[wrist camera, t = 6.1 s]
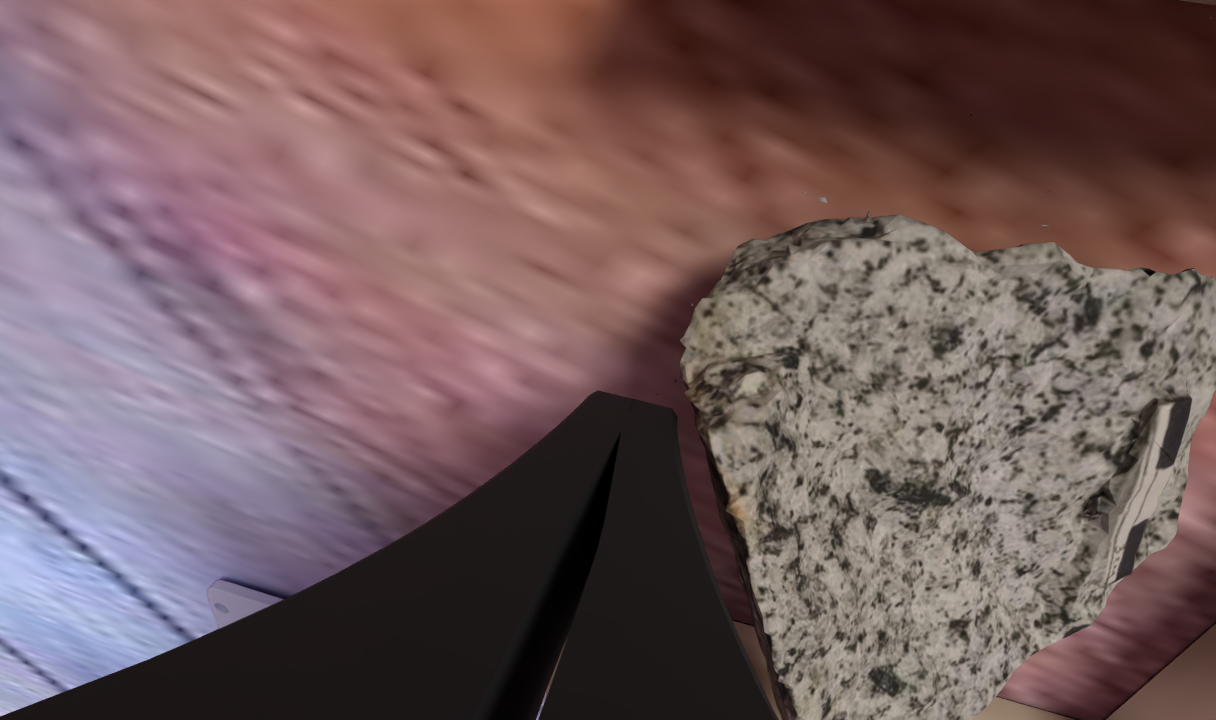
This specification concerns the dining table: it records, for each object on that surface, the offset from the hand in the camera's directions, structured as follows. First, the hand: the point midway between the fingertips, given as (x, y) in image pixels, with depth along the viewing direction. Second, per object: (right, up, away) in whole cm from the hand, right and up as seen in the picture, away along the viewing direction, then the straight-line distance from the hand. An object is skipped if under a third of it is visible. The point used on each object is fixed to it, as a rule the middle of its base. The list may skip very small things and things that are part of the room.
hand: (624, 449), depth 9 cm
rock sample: (+5, +1, +2) cm, 6 cm away
